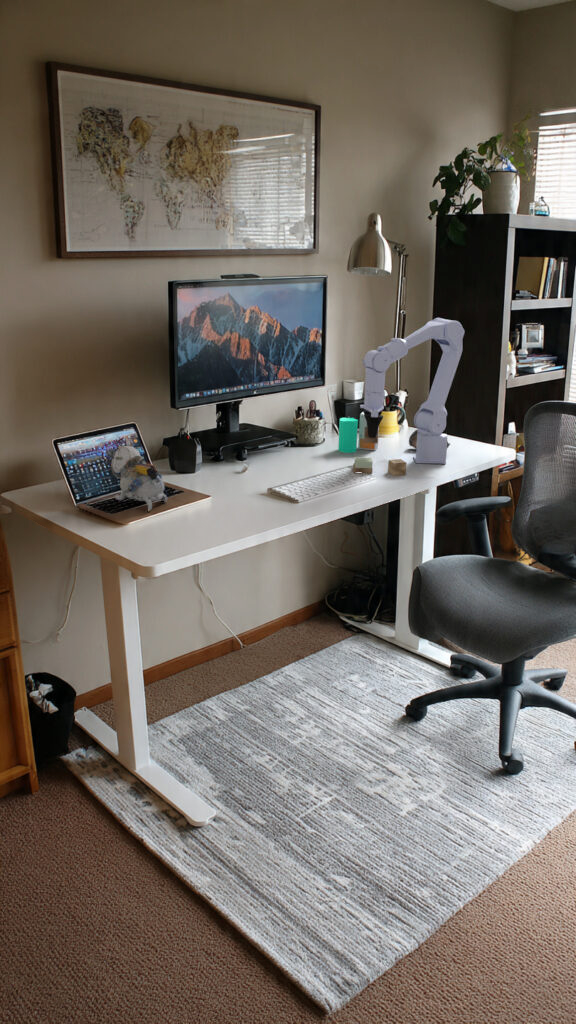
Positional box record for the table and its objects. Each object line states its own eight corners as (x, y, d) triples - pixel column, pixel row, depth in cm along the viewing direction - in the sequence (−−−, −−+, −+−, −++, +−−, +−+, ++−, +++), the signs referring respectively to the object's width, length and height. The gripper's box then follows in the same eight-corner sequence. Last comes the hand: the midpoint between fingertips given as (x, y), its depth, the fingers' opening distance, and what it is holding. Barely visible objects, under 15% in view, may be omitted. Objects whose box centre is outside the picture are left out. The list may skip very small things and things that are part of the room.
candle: (356, 453, 273) (358, 416, 270) (338, 452, 274) (340, 416, 270) (355, 448, 279) (357, 413, 275) (337, 448, 279) (339, 412, 275)
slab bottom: (371, 469, 256) (371, 463, 256) (372, 474, 251) (372, 468, 250) (353, 469, 256) (353, 463, 256) (353, 474, 251) (354, 467, 251)
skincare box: (357, 449, 278) (359, 414, 274) (360, 446, 282) (362, 411, 278) (375, 451, 276) (377, 415, 272) (378, 448, 280) (380, 412, 276)
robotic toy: (134, 491, 230) (132, 438, 225) (178, 504, 220) (177, 449, 215) (97, 501, 221) (94, 446, 216) (141, 516, 210) (139, 458, 205)
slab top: (370, 463, 255) (371, 457, 255) (372, 468, 251) (372, 461, 250) (354, 463, 255) (354, 457, 255) (355, 467, 251) (355, 461, 250)
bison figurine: (407, 448, 281) (414, 454, 272) (408, 427, 280) (415, 433, 270) (441, 448, 283) (450, 455, 273) (443, 428, 281) (451, 433, 271)
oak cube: (399, 471, 254) (400, 459, 252) (405, 475, 250) (406, 462, 249) (387, 472, 253) (388, 459, 251) (393, 476, 249) (394, 463, 248)
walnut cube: (377, 439, 257) (377, 427, 256) (377, 443, 253) (378, 430, 252) (363, 439, 257) (364, 426, 256) (364, 442, 254) (365, 429, 252)
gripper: (360, 386, 257) (357, 429, 262) (362, 395, 244) (359, 440, 248) (383, 387, 257) (380, 430, 261) (386, 396, 243) (383, 441, 248)
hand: (371, 435), depth 255 cm, fingers closed on walnut cube, 4 cm apart
